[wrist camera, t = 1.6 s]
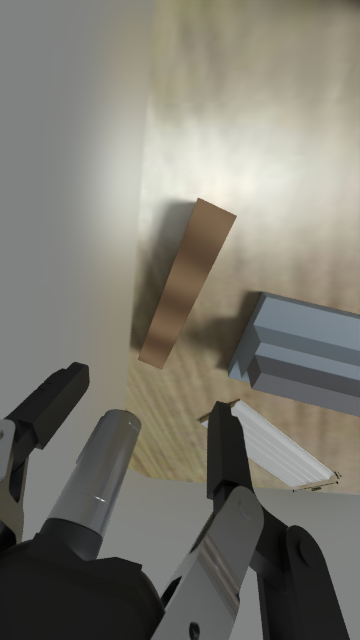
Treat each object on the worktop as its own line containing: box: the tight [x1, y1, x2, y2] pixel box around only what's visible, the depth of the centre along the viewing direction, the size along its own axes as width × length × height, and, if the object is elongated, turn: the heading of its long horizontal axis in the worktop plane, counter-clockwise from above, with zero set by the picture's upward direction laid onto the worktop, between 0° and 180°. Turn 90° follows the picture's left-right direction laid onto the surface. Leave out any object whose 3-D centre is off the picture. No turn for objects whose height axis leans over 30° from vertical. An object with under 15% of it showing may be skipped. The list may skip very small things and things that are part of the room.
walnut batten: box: [138, 198, 237, 369], centre depth 23 cm, size 22×4×4 cm, turn 158°
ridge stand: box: [227, 292, 360, 417], centre depth 22 cm, size 14×18×9 cm
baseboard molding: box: [200, 399, 341, 492], centre depth 37 cm, size 31×3×12 cm
